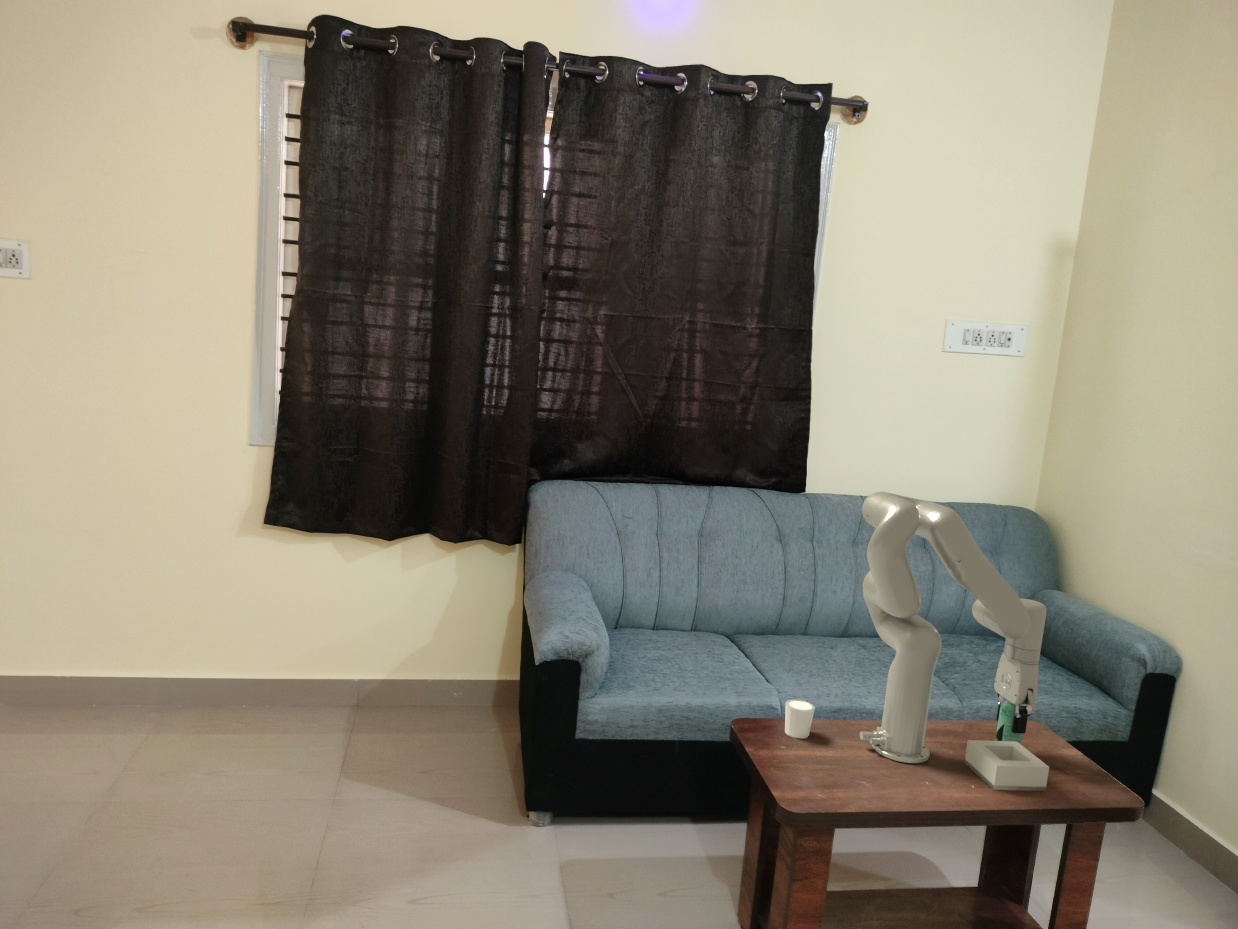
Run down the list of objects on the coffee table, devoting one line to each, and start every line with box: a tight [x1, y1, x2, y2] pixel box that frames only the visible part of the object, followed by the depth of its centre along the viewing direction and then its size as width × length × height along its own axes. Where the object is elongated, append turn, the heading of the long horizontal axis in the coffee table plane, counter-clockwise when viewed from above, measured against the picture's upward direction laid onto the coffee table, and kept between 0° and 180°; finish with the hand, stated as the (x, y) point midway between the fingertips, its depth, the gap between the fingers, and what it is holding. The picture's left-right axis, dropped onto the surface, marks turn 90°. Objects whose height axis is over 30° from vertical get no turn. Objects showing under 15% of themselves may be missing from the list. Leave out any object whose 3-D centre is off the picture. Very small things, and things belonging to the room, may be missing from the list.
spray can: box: [994, 684, 1025, 745], centre depth 200 cm, size 6×6×20 cm
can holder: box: [963, 739, 1050, 792], centre depth 189 cm, size 12×12×6 cm
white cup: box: [784, 699, 816, 739], centre depth 202 cm, size 7×7×7 cm
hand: (1010, 726), depth 201 cm, fingers closed on spray can, 5 cm apart
